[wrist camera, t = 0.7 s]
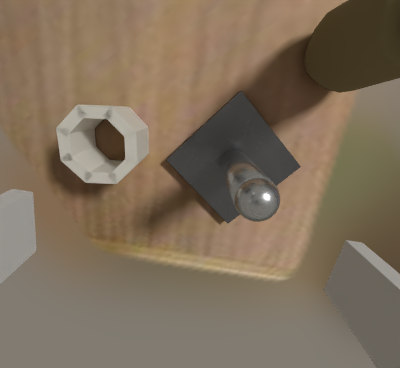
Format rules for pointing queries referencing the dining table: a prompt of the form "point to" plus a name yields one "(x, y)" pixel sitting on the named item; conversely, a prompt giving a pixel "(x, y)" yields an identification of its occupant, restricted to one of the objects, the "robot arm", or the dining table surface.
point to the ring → (86, 143)
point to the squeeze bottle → (356, 45)
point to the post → (236, 162)
